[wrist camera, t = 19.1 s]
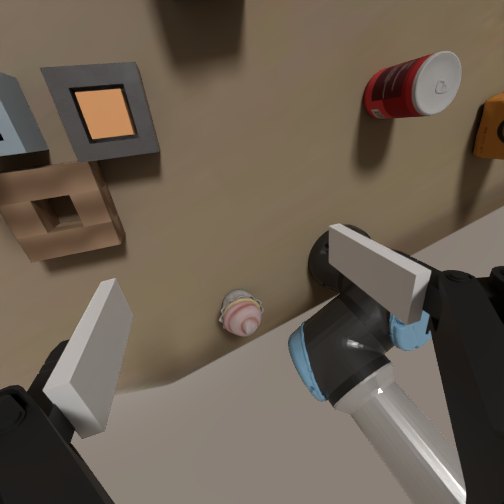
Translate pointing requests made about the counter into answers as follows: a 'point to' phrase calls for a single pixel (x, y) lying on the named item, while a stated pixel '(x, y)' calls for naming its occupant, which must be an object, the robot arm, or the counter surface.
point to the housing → (93, 79)
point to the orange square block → (106, 113)
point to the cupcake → (241, 313)
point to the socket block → (44, 218)
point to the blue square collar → (17, 121)
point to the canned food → (414, 87)
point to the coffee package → (491, 129)
